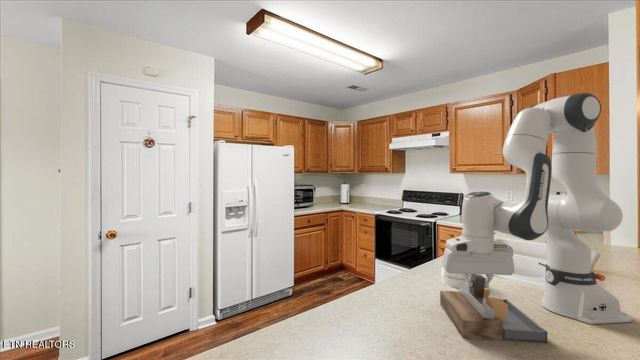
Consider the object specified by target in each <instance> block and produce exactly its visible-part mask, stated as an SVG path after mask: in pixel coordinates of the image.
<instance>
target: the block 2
mask: <svg viewBox="0 0 640 360" xmlns="http://www.w3.org/2000/svg"><path fill="white" fill-rule="evenodd" d="M501 299H502V298H496V297H490V296H489V297H487V299H486V301H487V302H488V303H489V304H491V305H492V306H493V307H494V308H495V309H496V313H495V317H498V318H504V319H506V318H507V311H508V305H507V304H506V303H505V302H504V301H503V300H501Z"/></svg>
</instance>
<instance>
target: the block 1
mask: <svg viewBox="0 0 640 360" xmlns="http://www.w3.org/2000/svg"><path fill="white" fill-rule="evenodd" d="M487 297H490V288H484V295H483V298H484V299H485V300H486V299H487Z"/></svg>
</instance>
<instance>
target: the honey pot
mask: <svg viewBox="0 0 640 360" xmlns="http://www.w3.org/2000/svg"><path fill="white" fill-rule="evenodd" d="M468 279H469V280H471V274H470V275H469V277H468ZM441 282H442V283H443V284H445V285H447V286H450V287H452V288H456V289H459V284H460V283H466V280H465V278H464V277H463V275H462V274H455V273H447V272H446V271H445V270H444V269H443V266H442V267H441Z"/></svg>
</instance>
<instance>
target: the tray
mask: <svg viewBox="0 0 640 360" xmlns="http://www.w3.org/2000/svg"><path fill="white" fill-rule="evenodd" d="M500 299H501V300H503V301H504V302H505V303H506V304H507V305H508V311H507V318H506V319H504V318H499V319H500V320H501V321H502V322H503V340H502V341H511V342H524V343H525V342H526V343H527V342H528V343H544V344H548V331H547V330H546V329H544V328H543V327H541V326H540V325H539V324H538V323H537V322H535V321H534V320H533V319H532V318H531V317H529V316H528V315H527V314H525V313H524V312H523V311H522V310H521V309H519V308H518V307H517V306H515V305H514V304H513V303H512V302H511V301H509V300H508V299H507V298H506V299H504V298H500Z"/></svg>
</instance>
